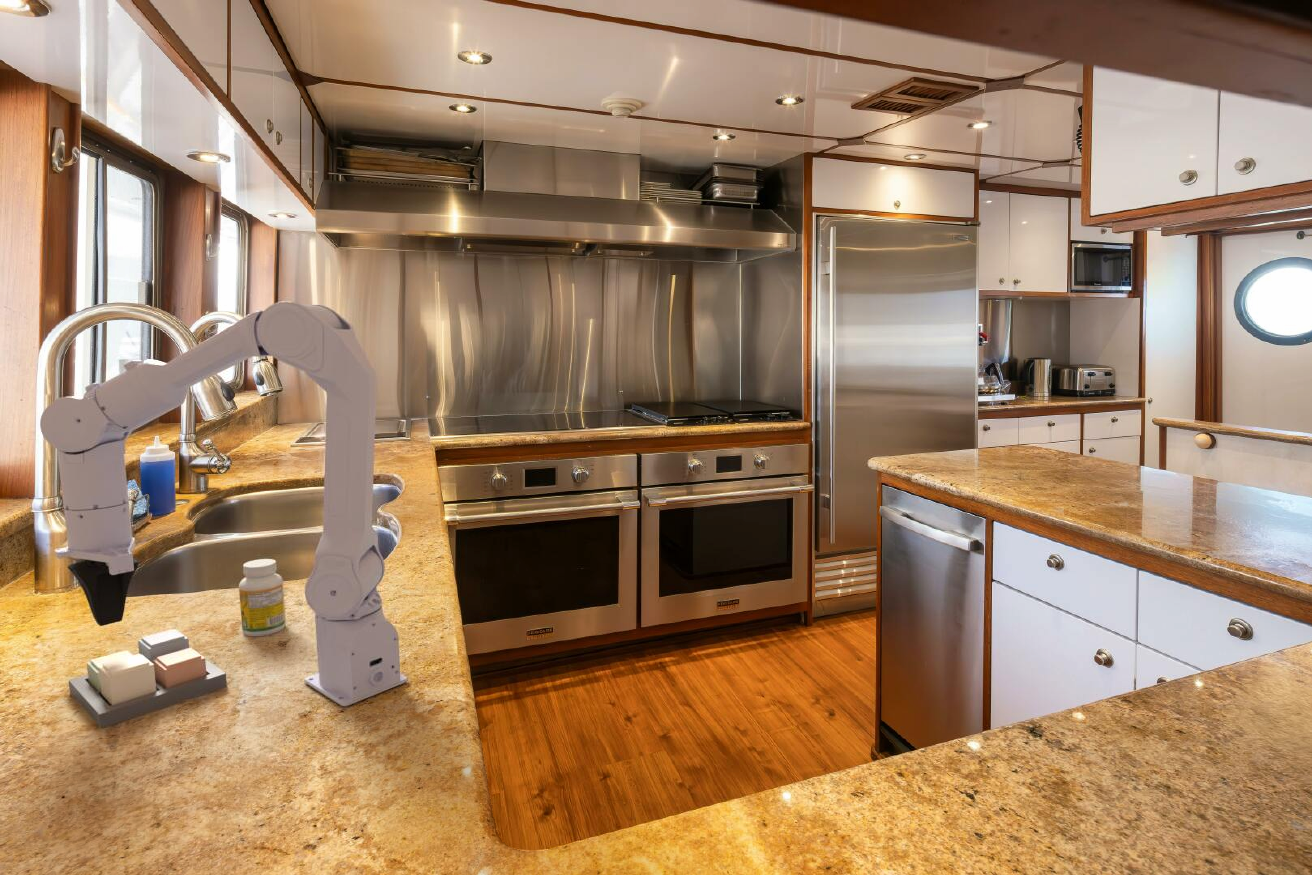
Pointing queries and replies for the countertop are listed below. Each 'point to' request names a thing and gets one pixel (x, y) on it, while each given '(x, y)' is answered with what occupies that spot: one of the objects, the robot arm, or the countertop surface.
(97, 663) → the key sage
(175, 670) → the key terracotta
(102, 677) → the key cream
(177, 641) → the key slate
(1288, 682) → the countertop surface
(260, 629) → the supplement bottle
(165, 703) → the keypad board
